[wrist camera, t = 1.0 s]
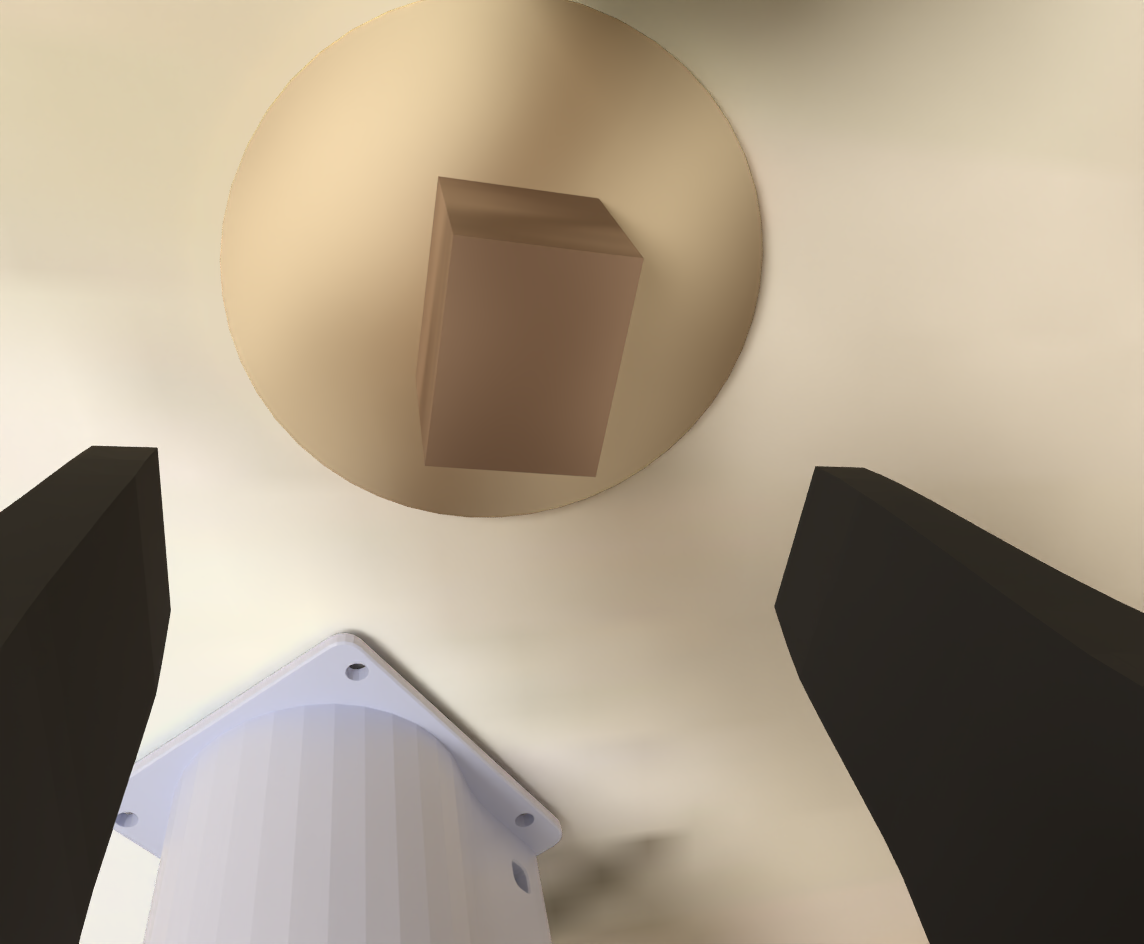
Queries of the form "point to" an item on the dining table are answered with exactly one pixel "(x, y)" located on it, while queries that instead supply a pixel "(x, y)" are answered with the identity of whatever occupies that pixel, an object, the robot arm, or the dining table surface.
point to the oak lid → (491, 255)
